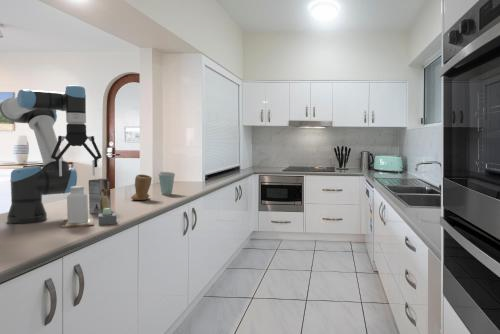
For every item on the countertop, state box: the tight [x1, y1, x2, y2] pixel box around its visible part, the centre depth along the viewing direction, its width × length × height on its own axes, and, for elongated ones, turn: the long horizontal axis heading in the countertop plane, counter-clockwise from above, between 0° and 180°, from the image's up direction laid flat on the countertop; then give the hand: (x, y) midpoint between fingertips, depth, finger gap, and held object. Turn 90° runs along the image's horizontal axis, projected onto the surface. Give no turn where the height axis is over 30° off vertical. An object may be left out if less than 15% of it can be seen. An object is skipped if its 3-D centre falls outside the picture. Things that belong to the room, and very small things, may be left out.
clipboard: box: [61, 217, 95, 229], centre depth 169 cm, size 12×14×1 cm
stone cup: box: [130, 174, 152, 201], centre depth 240 cm, size 15×12×15 cm
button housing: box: [98, 212, 117, 226], centre depth 172 cm, size 7×7×4 cm
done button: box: [103, 208, 112, 216], centre depth 171 cm, size 3×3×4 cm
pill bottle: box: [66, 185, 89, 224], centre depth 169 cm, size 8×8×15 cm
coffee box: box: [88, 178, 112, 214], centre depth 198 cm, size 9×6×16 cm
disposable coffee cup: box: [157, 171, 176, 196], centre depth 265 cm, size 11×11×15 cm
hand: (77, 175), depth 168 cm, fingers open, 12 cm apart
